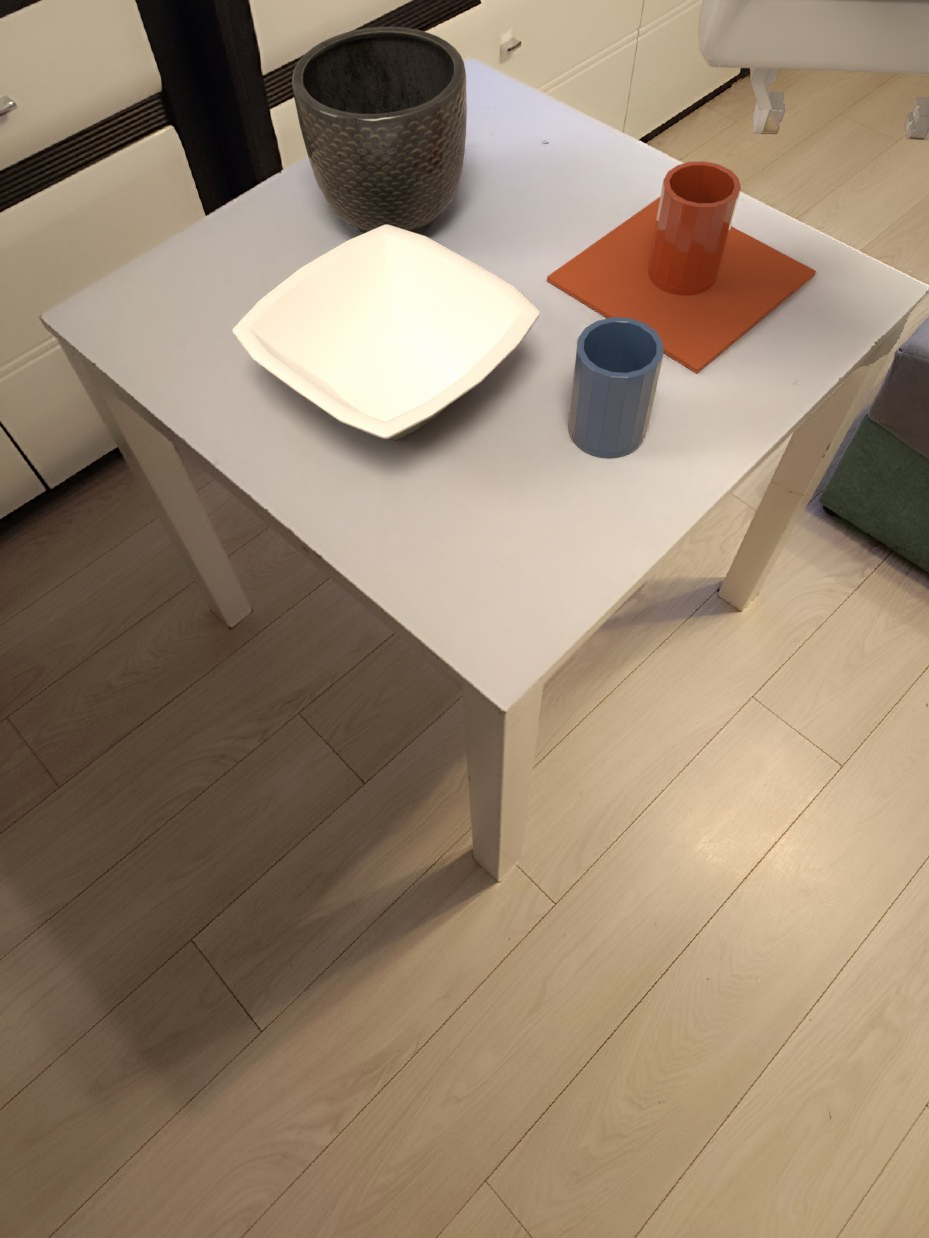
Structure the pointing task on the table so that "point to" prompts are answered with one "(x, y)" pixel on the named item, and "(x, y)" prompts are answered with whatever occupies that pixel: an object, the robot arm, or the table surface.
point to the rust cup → (692, 227)
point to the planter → (384, 124)
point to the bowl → (386, 330)
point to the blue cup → (614, 386)
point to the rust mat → (683, 322)
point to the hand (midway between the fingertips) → (840, 131)
